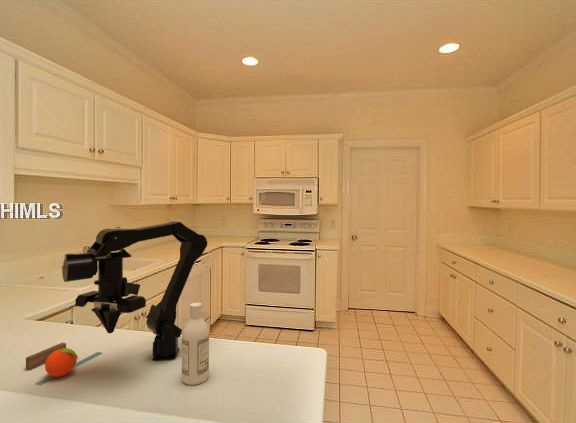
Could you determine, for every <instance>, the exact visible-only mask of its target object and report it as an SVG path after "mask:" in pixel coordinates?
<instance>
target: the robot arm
mask: <svg viewBox="0 0 576 423" xmlns="http://www.w3.org/2000/svg"><path fill="white" fill-rule="evenodd" d="M169 236H173V237H174V238H175V239H176V240H177V241H178V242H179V243H180V246H179V259H178V261H177V263H176V266H175V267H174V268H175V269H174V271H173V273H172V275H171V276H170V280H169V282H168V285H167V286H166V288H165V292H164V293H163V296H162V298H161V300H160V301H159V303H157V304H156V305H154V304H151V305H150V309H149V312H148V314H147V315H146V316H145V318H146V322H145V323H146V326H147V328H148V329H149V330H150V331H152V334H154V335H155V336H154V340H153V341H152V356H153V357H152V361H167V360H175V359H177V358H176V357H177V356H178V353H179V352H180V347H179V338H180V337H182V333H183V329H182V328H180V327H179V326H178V325H176V319H177V306H178V303H179V300H180V298H181V295H182V293H183V291H184V288H185V285H186V284H187V281H188V279H189V277H190V274H191V271H192V269H193V266H194V264H195V262H197V260H198V259H199V258H201V256H202V255H203V254H204V252H205V250H206V248H207V247H208V240H207V238H206V236H205V235H204V234H203V235H202V234H200V233H198V232H196V231H194V230H193V229H191V228H189V227H188V226H186V225H185V224H183V223H182V222H181V221H170V222H166V223H160V224H153V225H147V226H141V227H137V228H103V229H100V230H99V232H98V233H97V234H96V237H95V242H93V244H92V246H90V248H89V249H88V250H87V251H86V252H80V253H66V254H65V255H64V260H63V265H62V267H61V275H62V280H63V282H64V283H68V282H69V283H70V282H75V281H81V280H89V279H92V278H94V276H96V275H97V274H98V275H97V277H98V278H97V279H96V280H94V281H93V283H94V286H95V285H96V286H98V288H97V289H98V291H97V290H92V291H88V292H84V293H82V294H78V296H76V298H75V307H78V308H79V307H80V308H84V307H85V306H87V304H88V303H93V308H91V312H93V313H94V314H95V315H96V317H97V318H98V319H99V321H100V322H101V324H102V326H103V328H104V329H105V331H106V333H107V334H112V333H114V331H115V329H116V326H117V324H118V321H119V320H120V317H121V315H122V313H123V314H124V313H125V314H129V313H133V312H136V311H138V310H140V309H143V308H146V307H147V299H146V298H145V297H144V296H142V295H139V291H140V287H141V284H140V283H135V282H134V283H132V282H128V278H127V277H126V276H124V272H123V271H124V262H123V261H124V259H127V258H131V257H132V254H131V253H129V252H128V251H127V250H126V248H129V247H131V246H132V245H134V244H137V243H139V242H144V241H149V240H154V239H159V238H165V237H169ZM123 297H124V298H123Z"/></svg>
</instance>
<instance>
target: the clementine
mask: <svg viewBox="0 0 576 423" xmlns="http://www.w3.org/2000/svg"><path fill="white" fill-rule="evenodd" d="M78 359H79V358H78V354H77V353H76V352H75V351H74V350H73V349H71V348H68V347H66V348H61V349H58V350H56V351H54V352H53V353H52V354H51V355H50V356H49V357H48V358H47V360H46V363H45V364H44V368H45V369H44V370H45V371H46V373H47V374H48V376H55V377H56V378H59V377H62V376H65V375H67V374H69V373H71V372H72V370H73V369H75V368H74V366H75V364H76V363H77V362H78V361H77V360H78Z"/></svg>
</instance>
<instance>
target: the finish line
mask: <svg viewBox="0 0 576 423" xmlns="http://www.w3.org/2000/svg"><path fill="white" fill-rule="evenodd" d="M102 354H103V352H100V351H97V352H95V353H93V354H91V355H89V356H87V357H85V358H83V359H81V360H79V361H76V364H75V366H74V368H73V369H75V368H77V367H78V366H81V365H83V364H85V363H87V362H88V361H91V360H93V359H94V358H96V357H98V356H101V355H102ZM56 378H57V377H55V376H51V375H48V376H47V377H45V378H43V379H42V380H39V381H37V382H35V383H34V385H37V386H42V385H44V384H46V383H48V382H50V381H51V380H54V379H56Z"/></svg>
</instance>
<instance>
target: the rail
mask: <svg viewBox="0 0 576 423" xmlns="http://www.w3.org/2000/svg"><path fill="white" fill-rule="evenodd" d="M61 348H67V342H61V343H57V344H56V345H53V346H51V347H49V348H46V349H43V350H41V351H38V352H36V353H34V354H32V355H30V356H27V357H25V371H32V370H34V369H37V368H38V367H41V366H43V365H45V363H46V360H47V358H48V357H49V356H50V355H51V354H52V353H53V352H54V351H56V350H58V349H61Z"/></svg>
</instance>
